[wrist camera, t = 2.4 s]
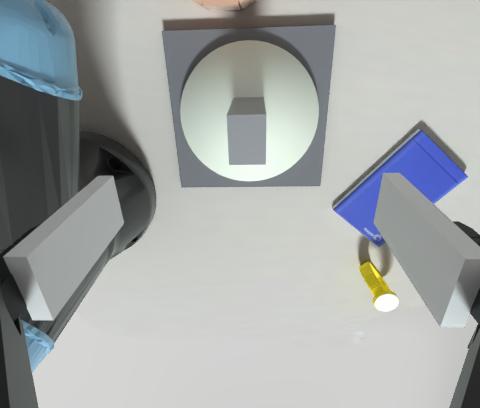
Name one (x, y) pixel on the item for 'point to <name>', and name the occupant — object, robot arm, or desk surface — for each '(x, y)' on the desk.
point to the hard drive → (413, 169)
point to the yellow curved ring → (378, 288)
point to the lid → (249, 110)
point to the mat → (288, 38)
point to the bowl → (223, 4)
